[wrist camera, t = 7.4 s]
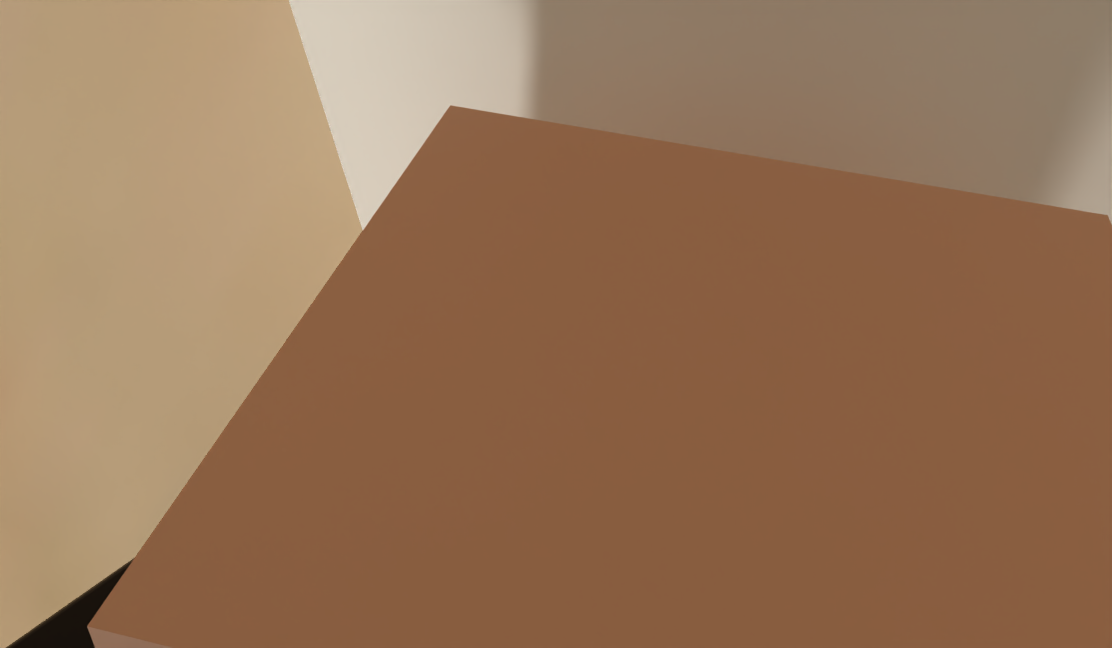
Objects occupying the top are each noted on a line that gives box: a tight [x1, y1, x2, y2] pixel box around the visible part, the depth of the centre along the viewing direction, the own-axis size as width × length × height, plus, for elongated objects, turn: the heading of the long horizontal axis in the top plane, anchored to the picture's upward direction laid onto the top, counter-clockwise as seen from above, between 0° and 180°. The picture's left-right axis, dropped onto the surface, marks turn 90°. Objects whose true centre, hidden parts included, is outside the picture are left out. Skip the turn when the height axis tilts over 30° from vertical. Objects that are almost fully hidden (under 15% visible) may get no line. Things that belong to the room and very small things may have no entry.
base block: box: [289, 0, 1112, 230], centre depth 12 cm, size 8×8×4 cm
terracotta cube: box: [87, 105, 1112, 648], centre depth 7 cm, size 5×5×5 cm
